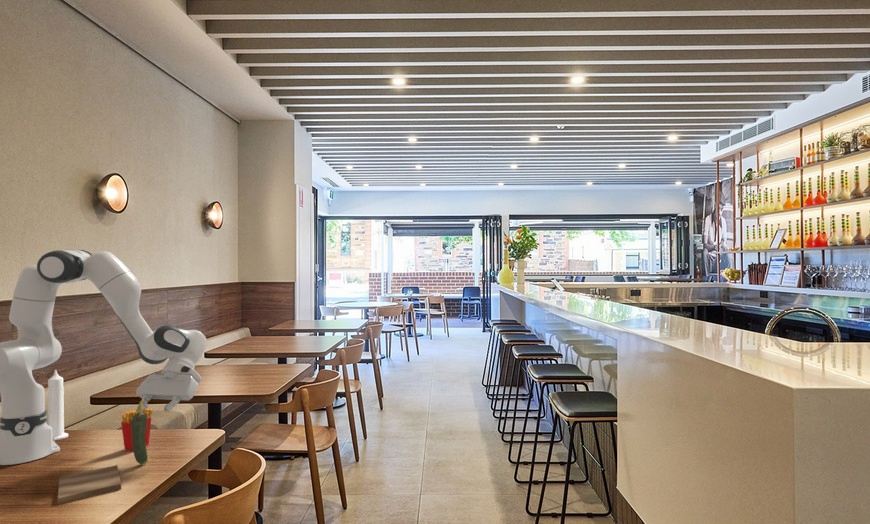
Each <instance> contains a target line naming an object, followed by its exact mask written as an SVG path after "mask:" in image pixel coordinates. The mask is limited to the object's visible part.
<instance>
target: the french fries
mask: <svg viewBox="0 0 870 524" xmlns="http://www.w3.org/2000/svg"><path fill="white" fill-rule="evenodd" d="M136 409H137V408H135V410H127V411H125V412H122V413H120V414H121V420H122V421H121V422H120V423H121V425H120V426H121V433H122V439H123V445H124V446H123V447H124V450H133V443H132V432H131V421H132V418H133V416H134V415H135V414H136V413H137V412H136ZM124 413H125V414H124ZM143 413H145V414H146V416H147V427H146V433H145V443H146V446H147V445H149V446H150V437H151V435H150V434H151V425H152V414H153V408H151V407H148V408H147V410H143Z"/></svg>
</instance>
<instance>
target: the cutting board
mask: <svg viewBox="0 0 870 524" xmlns="http://www.w3.org/2000/svg"><path fill="white" fill-rule="evenodd" d="M58 479H59V481H58V491H57V505H60V504H65V503H68V502H73V501H77V500H82V499H85V498H89V497H94V496H98V495H102V494H106V493H111V492H114V491H119V490H122V482H121V477H120V472H119V466H118V464H116V465H112V466H107V467H100V468H97V469H93V470H87V471H81V472H78V473H74V474H73V473H72V474H69V475H68V474H67V475H63V476H60V477H59V478H58Z"/></svg>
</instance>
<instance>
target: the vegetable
mask: <svg viewBox="0 0 870 524" xmlns="http://www.w3.org/2000/svg"><path fill="white" fill-rule="evenodd" d="M135 409H136V412H137V413H136V414H135V415H134V416H133V418H132V421H131V432H132V443H133V451H132V452H133V455H134V459H135V461H136V463H138V464H139V465H140V466H143V465H146V464H147V463H148V451H147V447H146V443H145V433H146V427H147V416H146V414H145V413H143V410H144V400H142V399H141V400H140V402H139V403H138V405H137V407H136V408H135Z"/></svg>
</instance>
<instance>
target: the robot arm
mask: <svg viewBox="0 0 870 524" xmlns="http://www.w3.org/2000/svg"><path fill="white" fill-rule="evenodd" d="M85 280H89V281H90V282H91V283H93V285H94V286H95V287H96V288H97V289H98V291H99V292H100V293H101V294H102V295H103V297H104V298H105V299H106V301H107V302H108V303H109V304H108V305H110V306H111V307H112V310H113V311H114V313H115V314H116V316H117V318H118V320H119V321H120V323H121V324H122V326H123V327H124V328H125V330H126V331H127V333H128V334H129V336H130V337H131V339H132V340H133V341H134V343H135V345H136V347H137V352H138V355H139V357H140V358H141V360H142V361H144V362H145V363H146V364H150V365H160V364H163V363H164V362H166V361H167V359H168V361H167V362H166V364H165V365H164V367H163V368H162V370H161V372H153V373H151V374H149V375H148V376H147V377H145V379H144V380H143V381H142V382H141V384H140V385H139V386H138V387H137V389H136V390H135V392H136V395H137V396H138V397H140V398H141V401H142V400H144V410H147V408H148V409H149V404H148V402H149V401H150V400H168V401H169V400H170V402H169V403H166V404H165V406H164V407H163V410H164V411H165V412H171V411H172V410H173V408H174V407H175V406H177V405H178V404H179V403H180V401H190V400H192V399H193V398H194V396H195V395H196V392H197V390H198V388H199V386H200V385H199V384H200V383H201V382H202V380H203V378H202V377H201V375H200V374H199V373H198V372H197V371H196V370H195V366H196V365H197V364H198V363H199V362H200V360H201V358H202V356H203V355H204V353H205V350H206V349H207V348H206V347H207V346H208V340H207V338H206V336H205V335H204V334H203V333H202V332H201V331H199V330H196V329H182V328H178V327H177V326H174V325H169V324H166V325H165V324H164V325H162V326H159V327H158V328H157V329H155V330H154V331H153V330H152V328H151V327H150V326H149V324H148V323H147V322H146V321H145V319H144V317H143V316H142V314H141V311H140V298H141V295H142V287H141V284H140V282H139V280H138V278H137V277H136V276H135V275H134V273H133V272H132V270H130V269H129V267H127V265H126V264H125V263H124V262H123V261H122V260H120V259H119V258H118V257H117V256H116V255H114V254H113V252H110V251H108V250H107V251H106V250H104V251H97V252H95V253H93V254H92V253H91V252H89V251H86V250H84V249H72V248H71V249H68V248H66V249H62V250H58V249H57V250H51V251H49V252H46V253H45V254H43V255H42V256H41V257H40V258H39V259H38V261H37V263H36V264H31V265H28V266H25V267H24V268H23V269H22V270H21V272H20V275H19V277H18V279H17V281H16V285H15V287H14V290H13V295H12V301H11V304H10V311H9V315H8V320H9V322H10V323H11V324H12V325H14V326H15V327H16V329H17V338H16V339H12V340H7V341H2V342H0V404H1V417H0V466H8V465H9V466H11V465H18V464H24V463H27V462H28V463H29V462H32V461H36V460H38V459H42V458H45V457H47V456H49V455H51V454H56V453H57V452H60V451H61V447H60V446H59V445H58V444H57V443H56V442H55V441H53V440H54V437H52V427H50V426H49V423H47V422H48V413H47V410H46V397H45V396H46V395H45V392H46V391H45V387H44V386H43V384H40V383H38V382H37V381H36V379H34V376H33V371H34V370H37V369H42V368H45V367H47V366H50V365H52V364H53V363H55V362H57V361H58V360H59V359H60V357H61V356H62V352H63V347H62V345H61V342H60V340H58V339H57V338H56V337H55V335H54V331H53V324H52V321H53V314H54V308H55V301H56V297H57V293H58V292H57V291H58V289H59V287H60V285H61V284H68V283H76V282H78V281H79V282H80V281H85Z"/></svg>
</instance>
